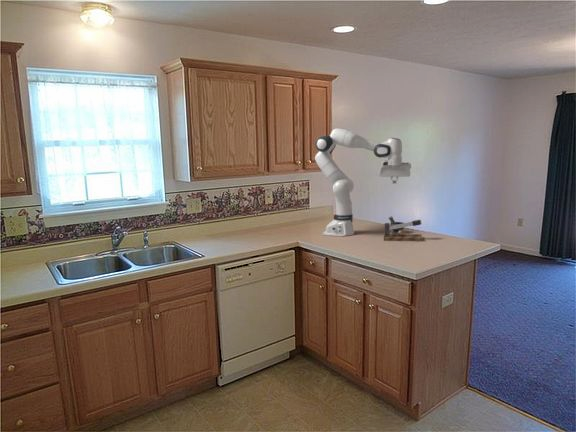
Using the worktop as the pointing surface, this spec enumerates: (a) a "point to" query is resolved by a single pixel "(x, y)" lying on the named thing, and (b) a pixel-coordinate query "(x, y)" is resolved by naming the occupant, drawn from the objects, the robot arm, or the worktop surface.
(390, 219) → the mortar and pestle
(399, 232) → the smooth brown ball
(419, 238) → the base
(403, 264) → the worktop surface
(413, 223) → the lever
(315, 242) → the worktop surface
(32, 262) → the worktop surface
